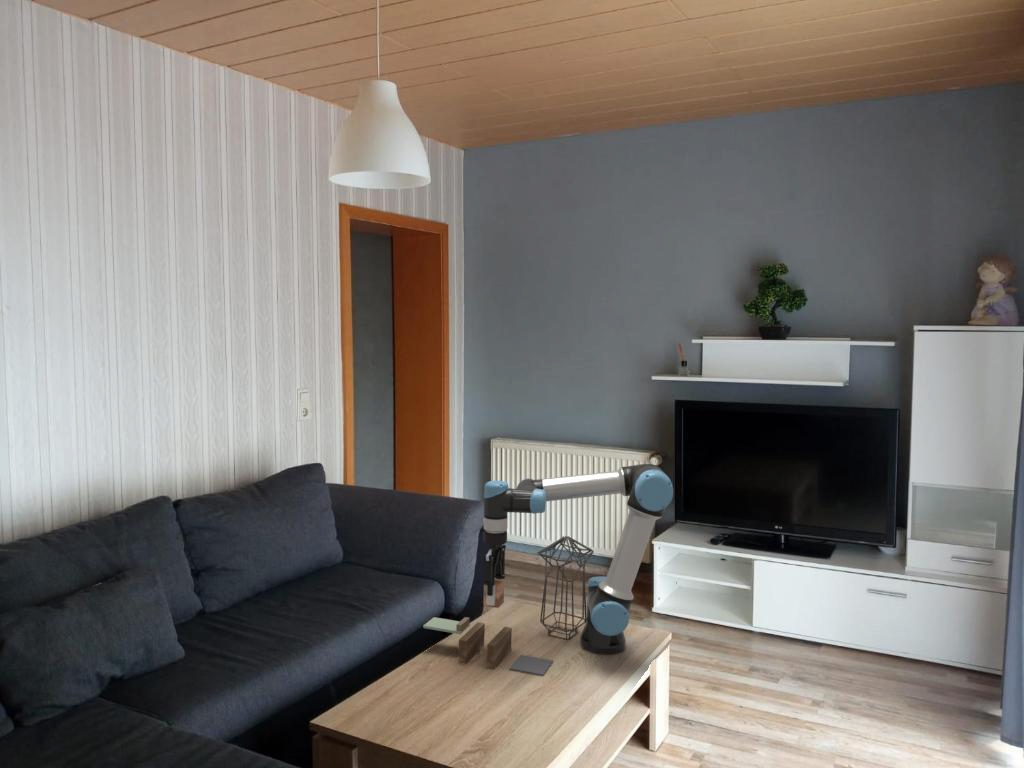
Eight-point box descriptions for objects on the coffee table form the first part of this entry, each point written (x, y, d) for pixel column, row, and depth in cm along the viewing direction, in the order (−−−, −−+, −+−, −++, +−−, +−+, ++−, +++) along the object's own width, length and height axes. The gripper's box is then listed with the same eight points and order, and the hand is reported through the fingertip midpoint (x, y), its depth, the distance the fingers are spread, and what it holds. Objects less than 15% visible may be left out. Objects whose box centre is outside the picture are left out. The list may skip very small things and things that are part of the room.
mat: (553, 662, 261) (553, 660, 261) (543, 676, 250) (543, 674, 250) (520, 656, 264) (520, 654, 264) (509, 670, 254) (509, 668, 254)
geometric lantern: (592, 632, 286) (597, 535, 282) (571, 648, 273) (575, 546, 269) (553, 621, 295) (557, 526, 291) (530, 636, 281) (534, 537, 277)
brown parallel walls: (511, 649, 269) (511, 627, 268) (493, 669, 254) (494, 646, 253) (477, 643, 273) (477, 622, 272) (458, 662, 258) (458, 639, 257)
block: (503, 602, 263) (504, 581, 262) (498, 607, 258) (498, 586, 257) (489, 600, 264) (489, 579, 264) (483, 605, 260) (483, 584, 259)
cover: (469, 625, 269) (470, 617, 269) (460, 634, 261) (460, 625, 261) (433, 619, 273) (434, 611, 273) (423, 627, 266) (423, 619, 265)
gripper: (494, 522, 269) (493, 591, 271) (473, 535, 252) (472, 609, 254) (516, 524, 266) (514, 594, 268) (496, 538, 249) (494, 613, 251)
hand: (493, 601), depth 261 cm, fingers closed on block, 5 cm apart
